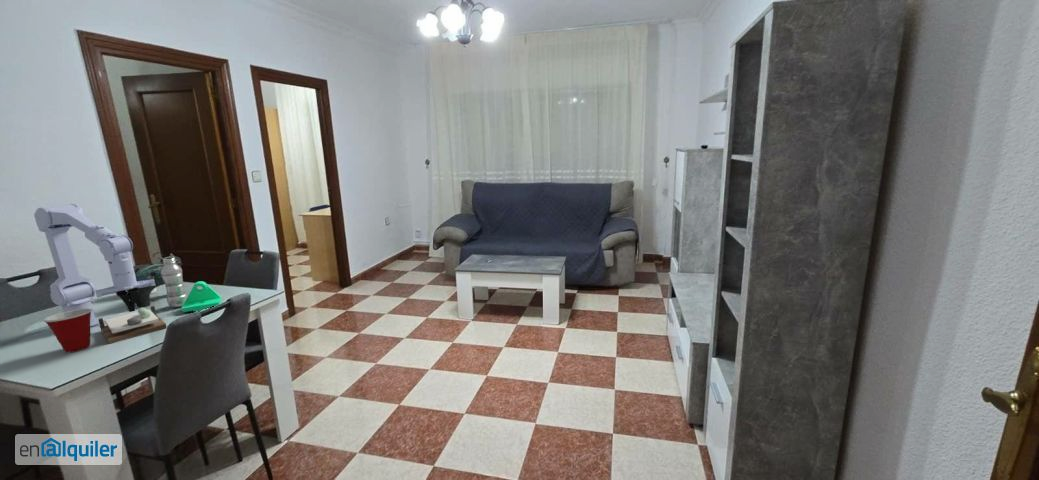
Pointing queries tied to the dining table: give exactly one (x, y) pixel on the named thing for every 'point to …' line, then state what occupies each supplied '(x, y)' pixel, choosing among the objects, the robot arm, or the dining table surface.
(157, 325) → the walnut base
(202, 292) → the green triangular piece
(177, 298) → the plastic bottle
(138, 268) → the jar
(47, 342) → the dining table surface
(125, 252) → the robot arm
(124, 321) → the instrument deck
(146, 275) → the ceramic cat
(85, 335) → the plastic cup
